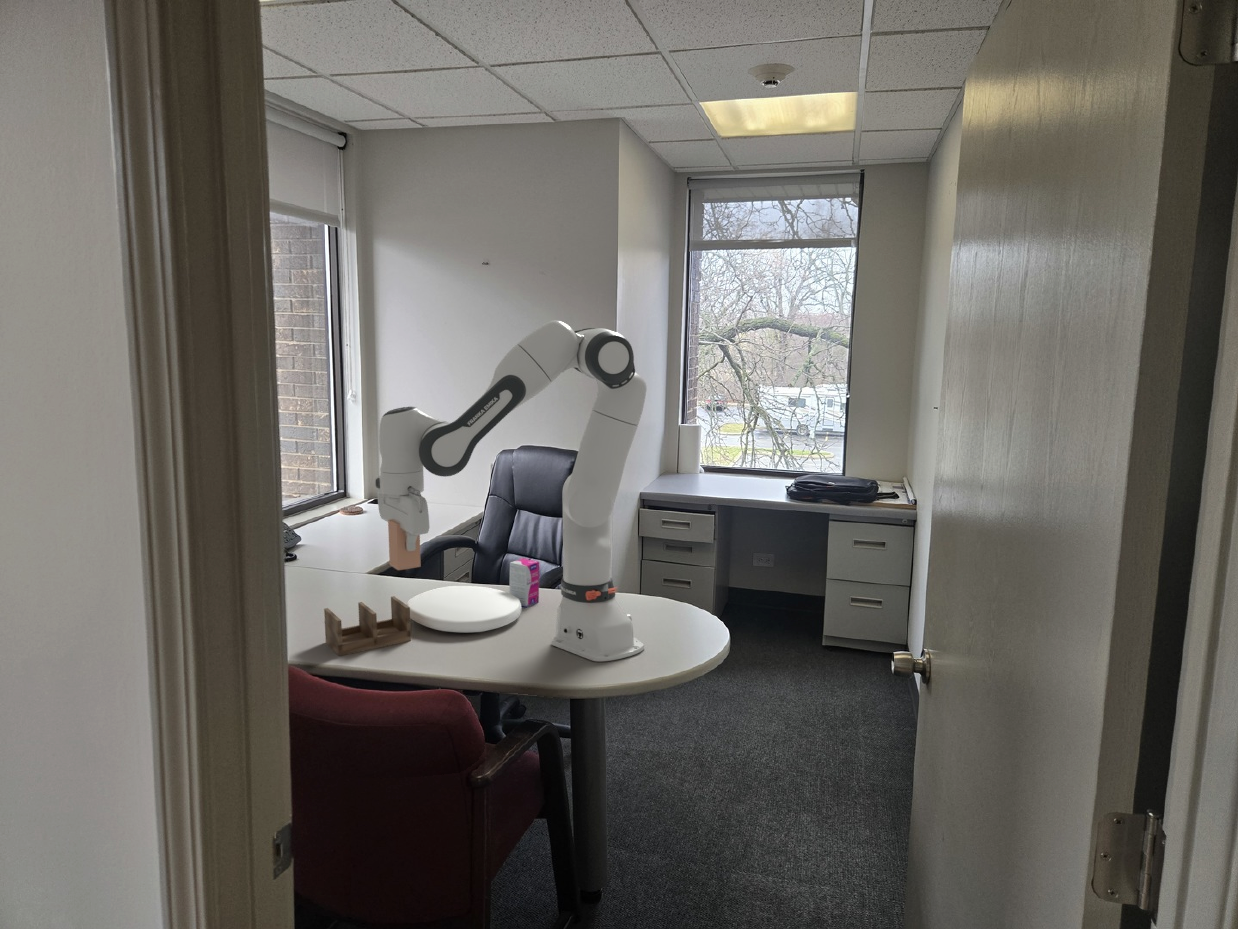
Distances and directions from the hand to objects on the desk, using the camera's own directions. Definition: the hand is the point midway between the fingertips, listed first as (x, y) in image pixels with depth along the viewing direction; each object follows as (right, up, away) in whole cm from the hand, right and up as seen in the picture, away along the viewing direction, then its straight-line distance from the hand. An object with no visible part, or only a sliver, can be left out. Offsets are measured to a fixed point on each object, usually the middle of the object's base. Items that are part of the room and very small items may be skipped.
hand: (404, 547), depth 175 cm
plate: (+8, -21, +29) cm, 36 cm away
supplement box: (+21, -19, +41) cm, 50 cm away
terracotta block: (0, -4, +1) cm, 4 cm away
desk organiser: (-12, -23, +13) cm, 29 cm away
